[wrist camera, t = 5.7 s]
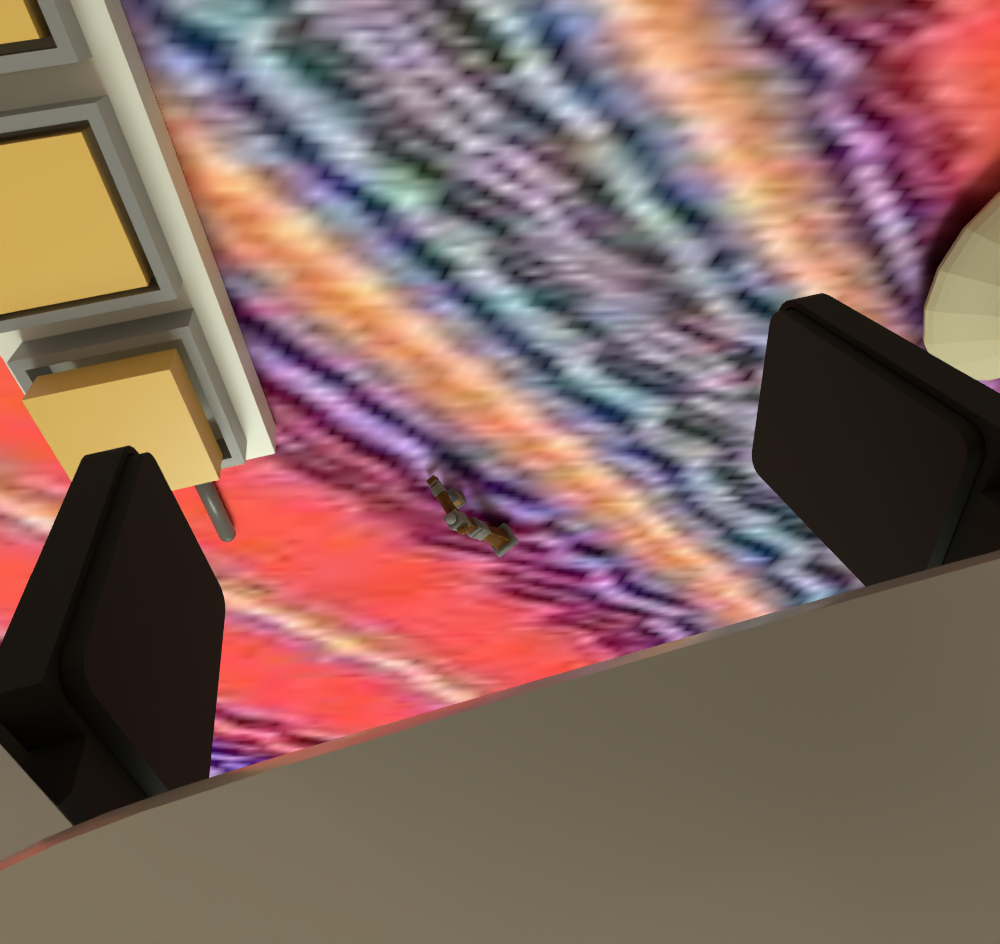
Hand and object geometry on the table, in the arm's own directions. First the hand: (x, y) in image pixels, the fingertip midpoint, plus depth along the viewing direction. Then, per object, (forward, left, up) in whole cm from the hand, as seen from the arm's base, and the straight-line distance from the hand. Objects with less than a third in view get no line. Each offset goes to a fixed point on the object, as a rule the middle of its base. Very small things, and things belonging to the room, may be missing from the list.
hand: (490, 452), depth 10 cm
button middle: (+13, 0, -25) cm, 28 cm away
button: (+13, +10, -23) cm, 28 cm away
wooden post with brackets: (-2, +24, -29) cm, 38 cm away
